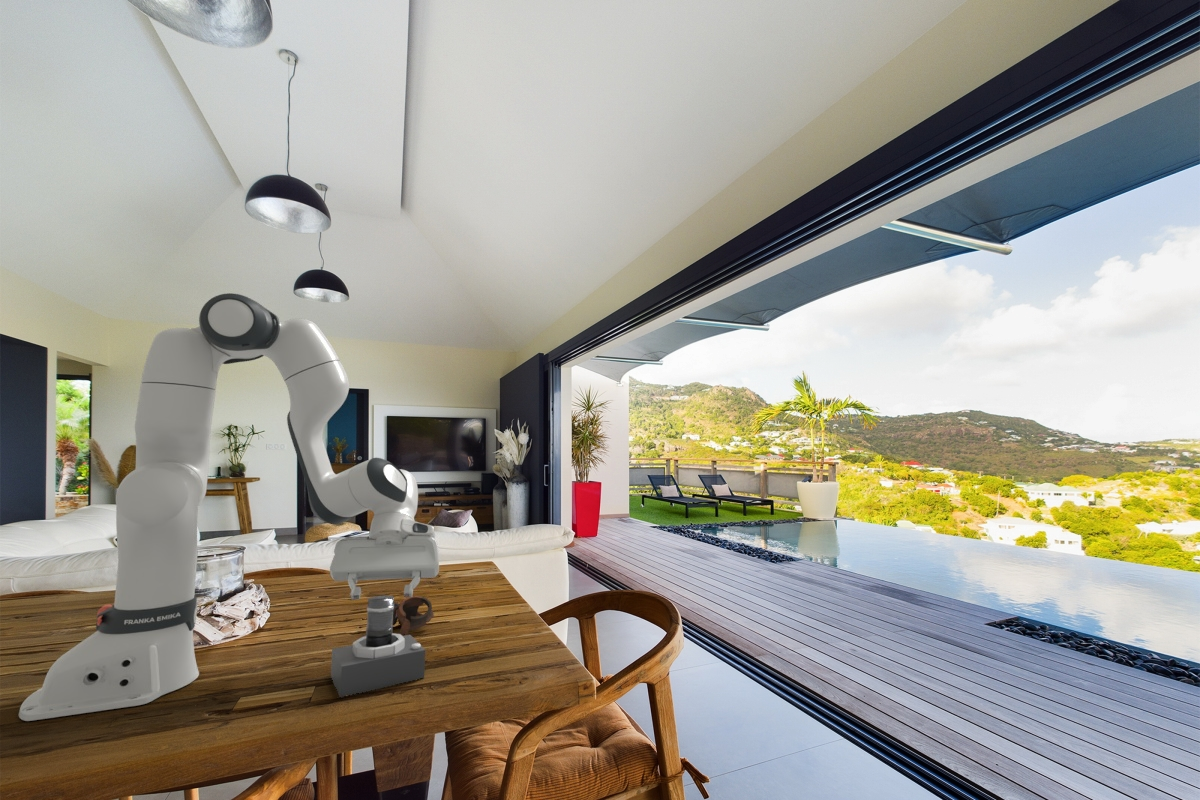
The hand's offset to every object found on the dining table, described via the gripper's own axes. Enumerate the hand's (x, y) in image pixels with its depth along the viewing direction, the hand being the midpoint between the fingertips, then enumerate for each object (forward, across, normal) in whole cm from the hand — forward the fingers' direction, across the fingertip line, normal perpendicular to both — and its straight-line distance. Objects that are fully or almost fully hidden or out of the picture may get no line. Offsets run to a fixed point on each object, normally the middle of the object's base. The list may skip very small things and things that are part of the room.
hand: (381, 596), depth 101 cm
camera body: (+12, 0, +8) cm, 14 cm away
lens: (+8, 0, +4) cm, 9 cm away
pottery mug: (-8, +3, +28) cm, 29 cm away
